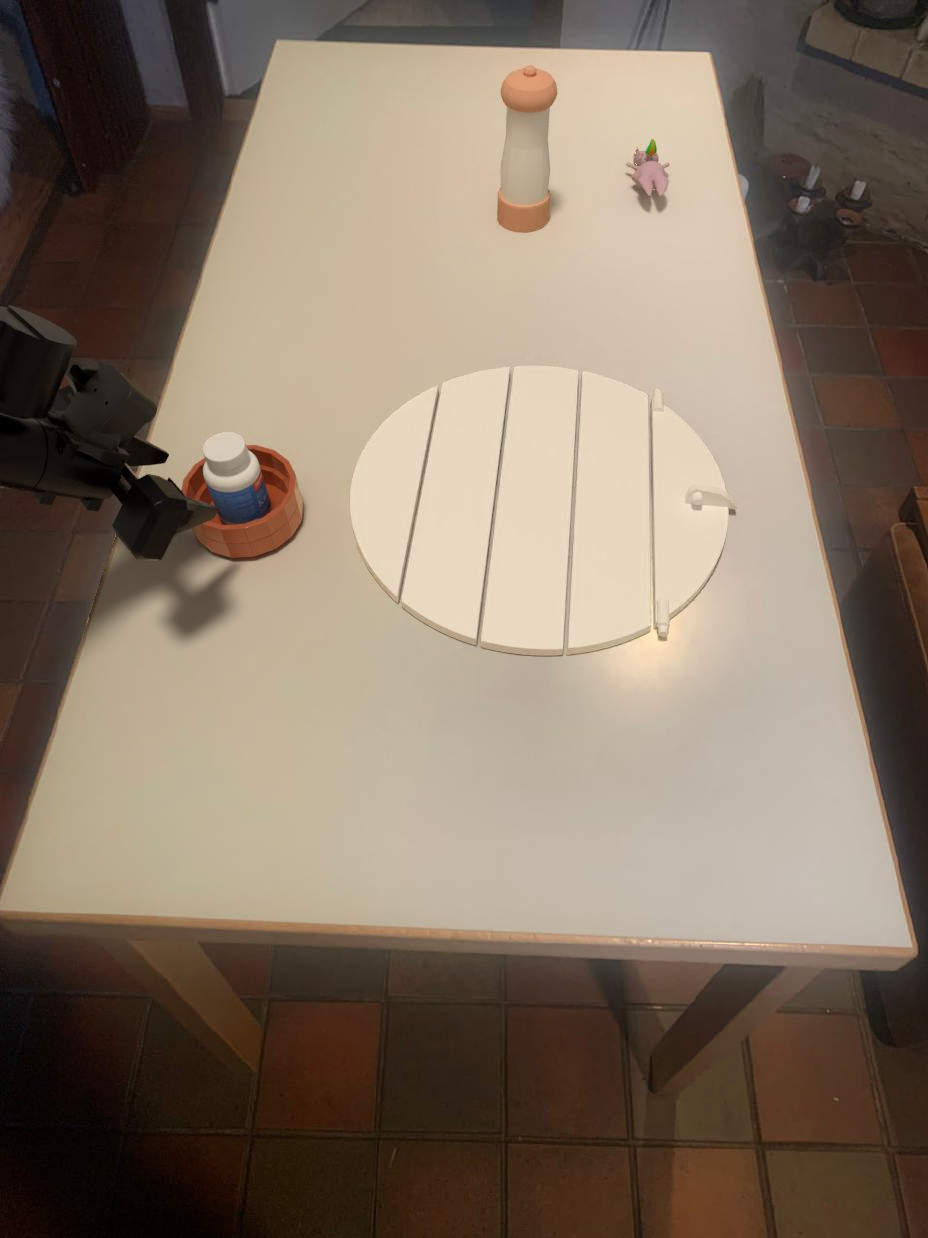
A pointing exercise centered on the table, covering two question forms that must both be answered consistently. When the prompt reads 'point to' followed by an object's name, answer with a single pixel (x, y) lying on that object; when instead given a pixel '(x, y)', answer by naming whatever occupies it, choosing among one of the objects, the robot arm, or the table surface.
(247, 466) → the pill bottle
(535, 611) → the round slatted board
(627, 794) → the table surface
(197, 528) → the bowl
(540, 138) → the salt shaker
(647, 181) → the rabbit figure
